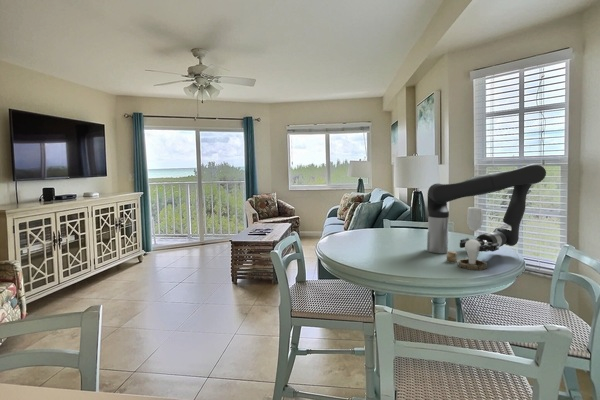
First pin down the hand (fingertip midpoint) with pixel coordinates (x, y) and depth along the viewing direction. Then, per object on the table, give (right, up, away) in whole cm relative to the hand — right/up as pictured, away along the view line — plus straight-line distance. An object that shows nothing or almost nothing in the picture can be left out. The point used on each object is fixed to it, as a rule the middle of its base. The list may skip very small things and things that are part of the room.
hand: (470, 247), depth 142 cm
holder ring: (+2, -8, +2) cm, 9 cm away
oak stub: (-3, -8, +10) cm, 13 cm away
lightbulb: (+2, -8, +2) cm, 9 cm away
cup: (+17, -5, +32) cm, 37 cm away
